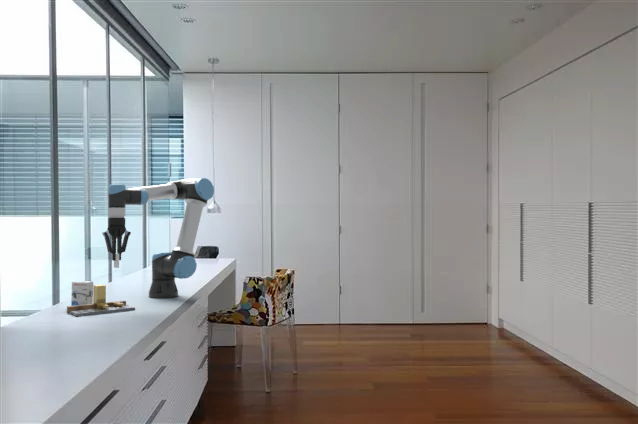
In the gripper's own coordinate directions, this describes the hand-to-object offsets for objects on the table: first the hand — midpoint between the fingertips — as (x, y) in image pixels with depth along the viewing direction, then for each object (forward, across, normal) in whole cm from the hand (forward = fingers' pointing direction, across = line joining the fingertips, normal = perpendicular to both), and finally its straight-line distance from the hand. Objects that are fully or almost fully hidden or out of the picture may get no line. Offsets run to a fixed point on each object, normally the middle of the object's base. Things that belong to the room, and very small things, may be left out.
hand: (116, 267), depth 272 cm
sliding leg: (+19, +8, +3) cm, 20 cm away
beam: (+19, +9, +3) cm, 21 cm away
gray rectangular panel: (+19, +9, +7) cm, 22 cm away
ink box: (+19, +11, -15) cm, 26 cm away
